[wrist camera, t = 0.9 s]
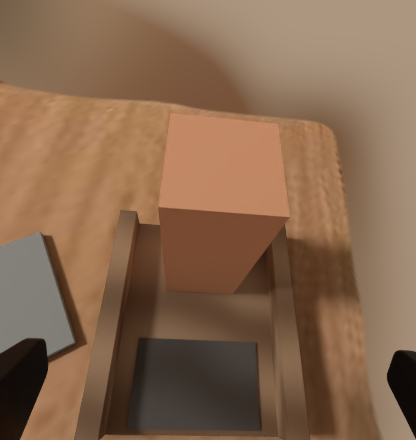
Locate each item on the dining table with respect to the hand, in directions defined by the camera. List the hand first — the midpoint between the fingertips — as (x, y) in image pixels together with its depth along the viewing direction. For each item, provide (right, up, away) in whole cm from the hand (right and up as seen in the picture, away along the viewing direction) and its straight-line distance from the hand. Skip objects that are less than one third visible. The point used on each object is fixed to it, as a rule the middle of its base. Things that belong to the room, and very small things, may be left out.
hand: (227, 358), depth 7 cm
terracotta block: (-1, 0, +15) cm, 15 cm away
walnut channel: (-1, -4, +14) cm, 14 cm away
